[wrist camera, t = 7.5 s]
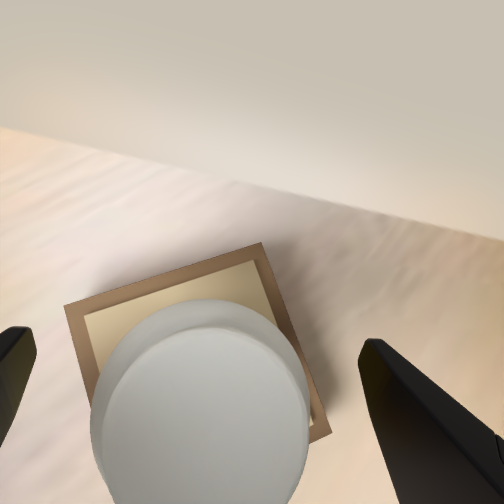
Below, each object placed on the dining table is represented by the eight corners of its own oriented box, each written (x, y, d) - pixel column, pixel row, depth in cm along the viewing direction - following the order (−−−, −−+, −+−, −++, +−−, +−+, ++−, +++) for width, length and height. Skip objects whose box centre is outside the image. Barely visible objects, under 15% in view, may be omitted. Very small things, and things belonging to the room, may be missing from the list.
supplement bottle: (280, 397, 17) (403, 487, 7) (172, 466, 15) (134, 701, 6) (224, 293, 17) (264, 240, 8) (117, 350, 16) (-4, 377, 6)
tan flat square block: (318, 423, 19) (334, 434, 17) (131, 509, 17) (122, 536, 15) (254, 250, 21) (261, 240, 18) (77, 308, 18) (61, 305, 16)
